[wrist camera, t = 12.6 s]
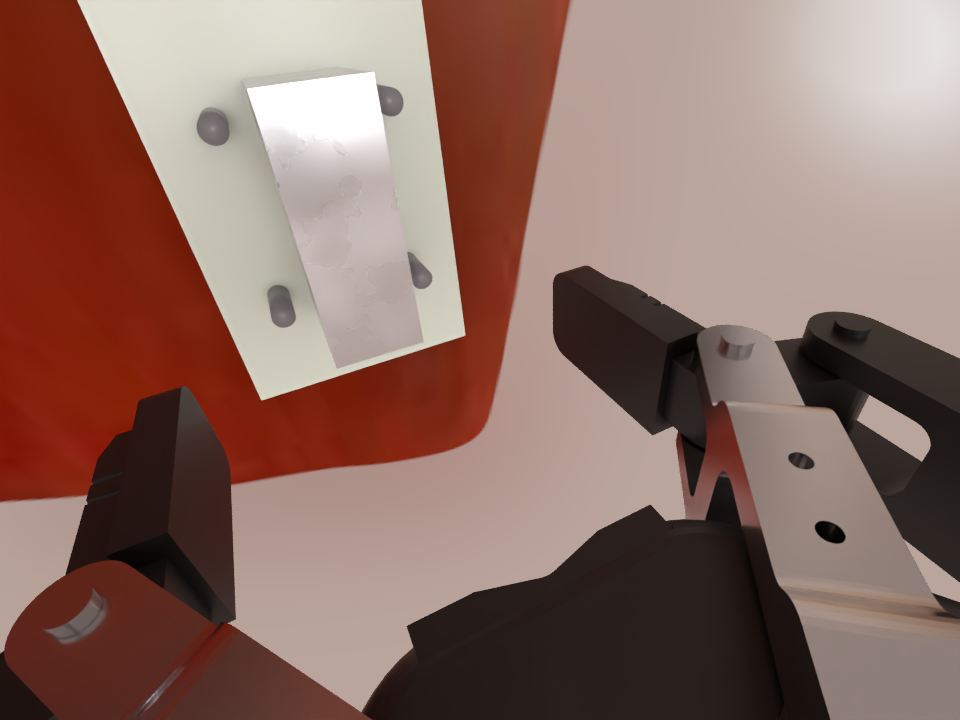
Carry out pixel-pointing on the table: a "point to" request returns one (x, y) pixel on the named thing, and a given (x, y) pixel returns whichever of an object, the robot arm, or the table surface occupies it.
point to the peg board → (243, 164)
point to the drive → (340, 205)
